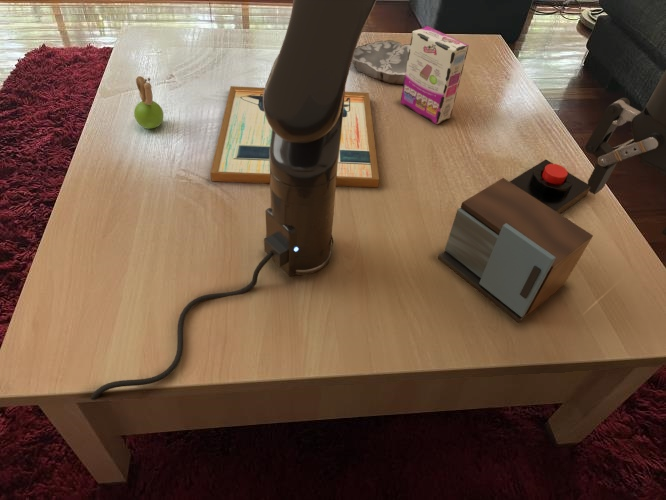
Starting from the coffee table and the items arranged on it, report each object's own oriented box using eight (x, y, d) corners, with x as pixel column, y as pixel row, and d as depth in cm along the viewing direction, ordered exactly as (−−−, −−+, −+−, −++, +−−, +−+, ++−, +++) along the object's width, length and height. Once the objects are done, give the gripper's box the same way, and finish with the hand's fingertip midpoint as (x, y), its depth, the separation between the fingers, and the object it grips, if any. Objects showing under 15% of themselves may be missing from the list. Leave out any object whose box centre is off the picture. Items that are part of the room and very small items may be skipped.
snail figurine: (145, 139, 102) (132, 82, 93) (133, 123, 105) (119, 67, 97) (172, 131, 104) (161, 75, 96) (158, 116, 108) (147, 60, 99)
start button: (556, 187, 94) (559, 180, 92) (537, 176, 96) (540, 168, 94) (568, 179, 95) (572, 172, 94) (549, 168, 97) (553, 160, 96)
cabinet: (518, 322, 77) (544, 273, 69) (437, 258, 85) (453, 207, 77) (564, 284, 83) (593, 235, 75) (484, 227, 91) (503, 177, 83)
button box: (550, 221, 93) (558, 204, 90) (504, 191, 98) (511, 174, 95) (586, 195, 98) (595, 178, 96) (542, 168, 103) (549, 151, 101)
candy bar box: (451, 118, 114) (470, 44, 102) (436, 125, 112) (454, 51, 100) (413, 96, 120) (427, 24, 108) (398, 102, 117) (411, 30, 105)
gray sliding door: (520, 318, 76) (551, 261, 67) (477, 284, 80) (501, 226, 71) (524, 314, 77) (556, 257, 68) (482, 281, 81) (506, 222, 72)
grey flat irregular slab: (439, 63, 131) (441, 52, 129) (419, 94, 120) (421, 82, 118) (366, 45, 136) (367, 33, 134) (340, 73, 125) (341, 61, 123)
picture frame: (368, 92, 116) (379, 179, 95) (367, 100, 117) (377, 187, 96) (230, 86, 114) (210, 172, 93) (231, 93, 115) (211, 181, 95)
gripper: (619, 53, 48) (555, 191, 59) (789, 124, 41) (679, 264, 52) (657, 33, 51) (590, 166, 63) (819, 94, 44) (709, 232, 56)
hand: (630, 210), depth 58 cm, fingers open, 8 cm apart
